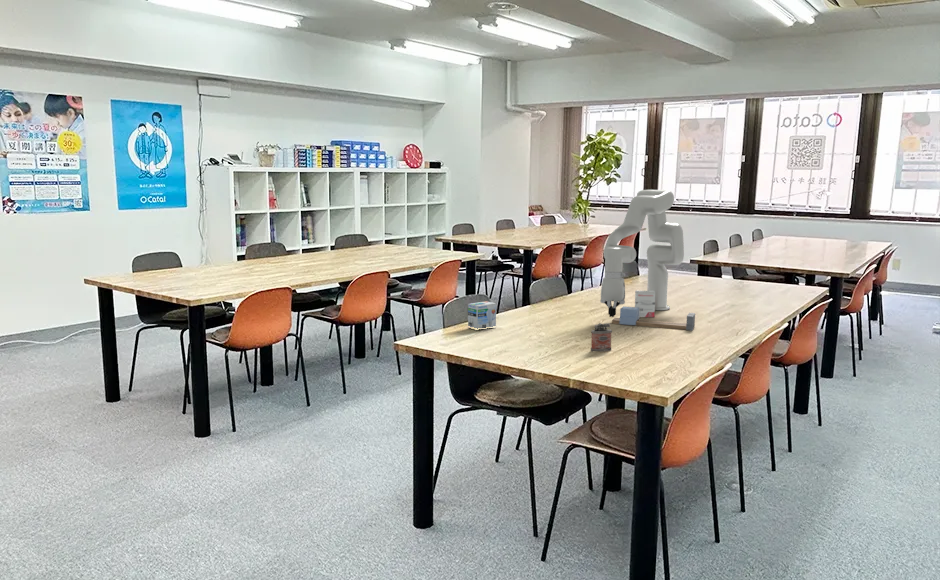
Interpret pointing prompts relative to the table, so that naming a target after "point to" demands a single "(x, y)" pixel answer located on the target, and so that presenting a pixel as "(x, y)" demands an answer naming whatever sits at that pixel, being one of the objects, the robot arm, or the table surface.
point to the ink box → (645, 303)
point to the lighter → (601, 338)
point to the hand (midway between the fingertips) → (612, 316)
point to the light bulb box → (482, 314)
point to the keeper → (629, 315)
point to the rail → (665, 323)
